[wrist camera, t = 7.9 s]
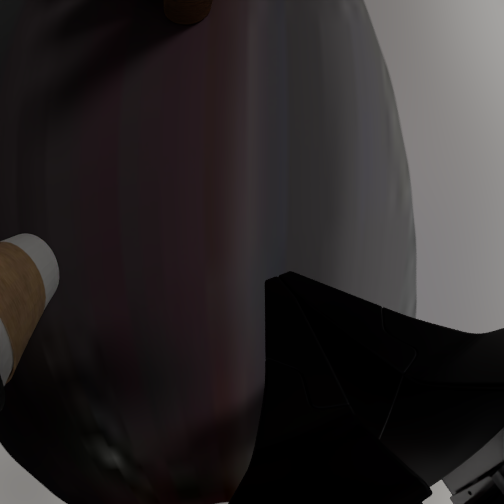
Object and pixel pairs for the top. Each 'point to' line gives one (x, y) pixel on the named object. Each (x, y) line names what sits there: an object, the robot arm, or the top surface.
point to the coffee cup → (22, 296)
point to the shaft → (186, 10)
